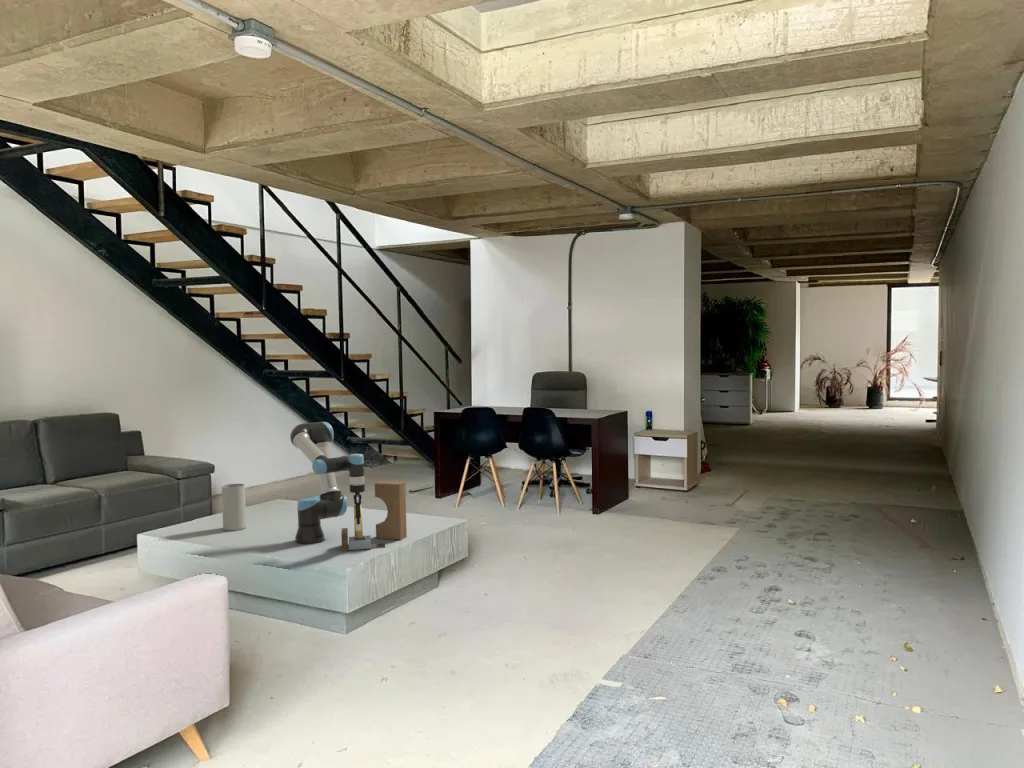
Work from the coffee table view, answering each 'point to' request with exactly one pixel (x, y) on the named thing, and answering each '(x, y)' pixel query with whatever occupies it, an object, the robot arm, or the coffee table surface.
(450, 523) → the coffee table surface
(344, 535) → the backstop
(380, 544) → the dark grey flat board
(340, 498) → the robot arm
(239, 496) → the cylinder vase
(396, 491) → the decorative block
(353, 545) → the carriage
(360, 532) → the dowel
